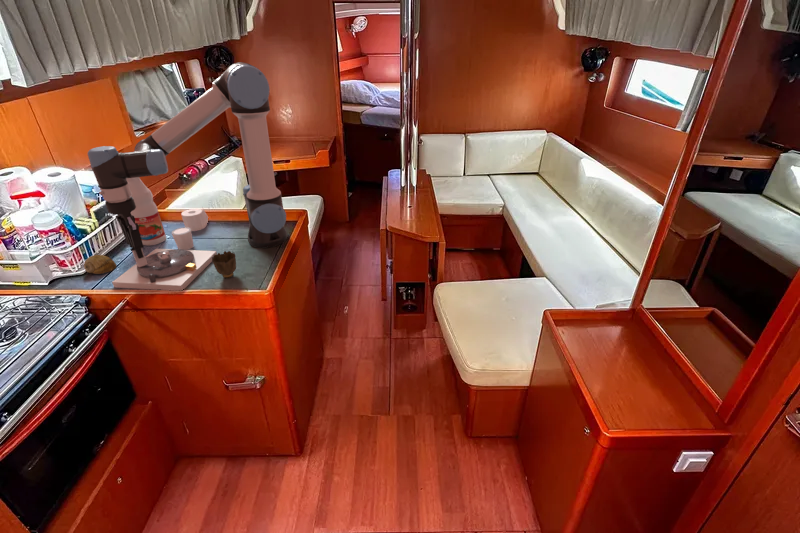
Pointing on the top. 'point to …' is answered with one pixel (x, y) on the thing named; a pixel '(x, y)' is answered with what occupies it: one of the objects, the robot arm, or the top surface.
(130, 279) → the base plate
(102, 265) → the seashell
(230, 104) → the robot arm
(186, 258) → the flange plate
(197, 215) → the toilet paper
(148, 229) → the fruit juice
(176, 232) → the pale pink cylinder
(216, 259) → the cup
